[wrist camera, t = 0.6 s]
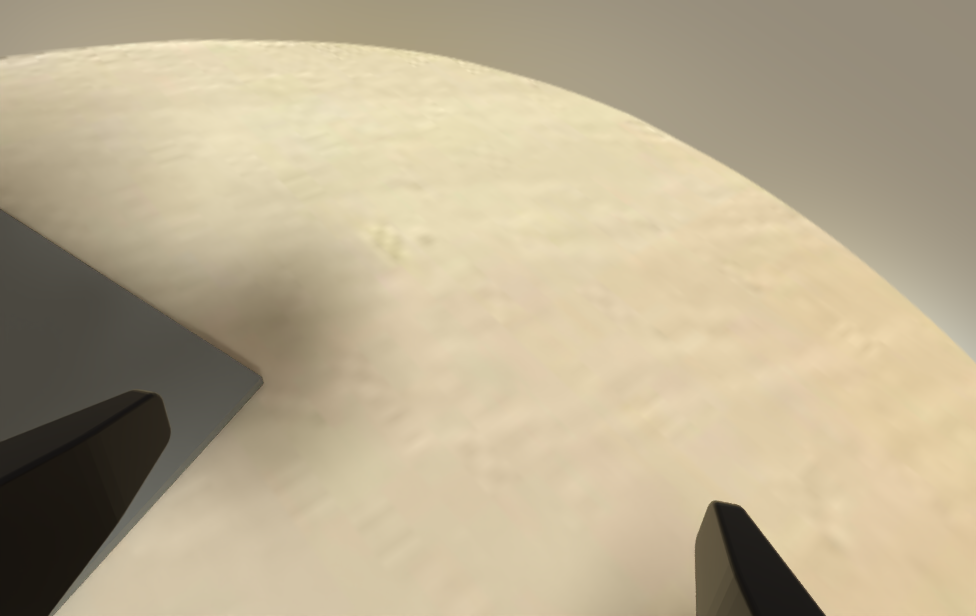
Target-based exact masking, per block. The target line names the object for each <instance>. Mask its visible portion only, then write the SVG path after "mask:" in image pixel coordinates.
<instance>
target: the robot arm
mask: <svg viewBox="0 0 976 616" xmlns="http://www.w3.org/2000/svg"><path fill="white" fill-rule="evenodd" d="M170 436H171V426H170V423H169V419H168V416H167V412H166V408H165V405H164V401H163V399H162V397H161V396H160V395H159V394H158V393H156V392H151V391H146V390H141V389H133V390H130V391H127V392H125V393H122V394H120V395H117V396H115V397H112V398H109V399H107V400H104V401H102V402H99V403H97V404H94V405H92V406H89V407H87V408H84V409H82V410H79V411H77V412H74V413H71V414H69V415H66V416H64V417H61V418H59V419H56V420H54V421H51V422H49V423H46V424H44V425H41V426H39V427H36V428H33V429H31V430H28V431H26V432H23V433H21V434H18V435H16V436H13V437H11V438H8V439H6V440H3V441H1V442H0V616H49V615H50V614H51V612H52V611H53V610H54V608H55V607H56V606H57V604H58V603H59V602H60V600H61V599H62V598H63V597H64V595H65V594H66V593H67V591H68V590H69V589H70V587H71V586H72V585H73V583H74V582H75V581H76V579H77V578H78V577H79V575H80V574H81V573H82V571H83V570H84V569H85V567H86V566H87V565H88V563H89V562H90V561H91V559H92V558H93V557H94V555H95V554H96V553H97V551H98V550H99V549H100V548H101V546H102V545H103V544H104V542H105V541H106V540H107V538H108V537H109V536H110V534H111V533H112V531H113V530H114V529H115V527H116V526H117V524H118V523H119V521H120V520H121V518H122V517H123V515H124V514H125V512H126V511H127V509H128V508H129V506H130V504H131V503H132V501H133V500H134V498H135V496H136V495H137V493H138V491H139V490H140V488H141V487H142V485H143V483H144V482H145V480H146V479H147V477H148V475H149V474H150V472H151V470H152V469H153V467H154V466H155V464H156V462H157V461H158V459H159V458H160V456H161V454H162V453H163V451H164V449H165V448H166V446H167V444H168V442H169V440H170ZM695 579H696V616H826V615H825V614H824V613H823V611H822V610H821V609H820V607H819V606H818V605H817V603H816V602H815V601H814V600H813V598H812V597H811V596H810V594H809V593H808V592H807V590H806V589H805V588H804V587H803V585H802V584H801V583H800V581H799V580H798V579H797V577H796V576H795V575H794V574H793V572H792V571H791V570H790V568H789V567H788V566H787V564H786V563H785V562H784V561H783V559H782V558H781V557H780V555H779V554H778V553H777V551H776V550H775V549H774V547H773V546H772V545H771V544H770V542H769V541H768V540H767V538H766V537H765V536H764V534H763V533H762V532H761V531H760V529H759V528H758V527H757V525H756V524H755V523H754V521H753V520H752V519H751V518H750V516H749V515H748V514H747V512H746V511H745V510H744V509H743V508H742V507H741V506H739V505H737V504H732V503H727V502H722V501H712V502H711V503H710V504H709V506H708V508H707V511H706V513H705V516H704V518H703V521H702V524H701V526H700V529H699V532H698V534H697V538H696V543H695Z"/></svg>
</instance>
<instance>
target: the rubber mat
mask: <svg viewBox="0 0 976 616" xmlns="http://www.w3.org/2000/svg"><path fill="white" fill-rule="evenodd" d="M262 384H263V380H262V377H261V376H260V375H258V374H256V373H255V372H253V371H252V370H250V369H249V368H247V367H246V366H244V365H242V364H241V363H239V362H238V361H236V360H235V359H233V358H231V357H230V356H228V355H227V354H225V353H224V352H222V351H221V350H219V349H217V348H216V347H214V346H213V345H211V344H210V343H208V342H207V341H205V340H203V339H202V338H200V337H199V336H197V335H196V334H194V333H192V332H191V331H189V330H188V329H186V328H185V327H183V326H182V325H180V324H178V323H177V322H175V321H174V320H172V319H171V318H169V317H168V316H166V315H164V314H163V313H161V312H160V311H158V310H157V309H155V308H153V307H152V306H150V305H149V304H147V303H146V302H144V301H143V300H141V299H139V298H138V297H136V296H135V295H133V294H132V293H130V292H129V291H127V290H125V289H124V288H122V287H121V286H119V285H118V284H116V283H114V282H113V281H111V280H110V279H108V278H107V277H105V276H104V275H102V274H100V273H99V272H97V271H96V270H94V269H93V268H91V267H90V266H88V265H86V264H85V263H83V262H82V261H80V260H79V259H77V258H75V257H74V256H72V255H71V254H69V253H68V252H66V251H65V250H63V249H61V248H60V247H58V246H57V245H55V244H54V243H52V242H51V241H49V240H47V239H46V238H44V237H43V236H41V235H40V234H38V233H37V232H35V231H33V230H32V229H30V228H29V227H27V226H26V225H24V224H22V223H21V222H19V221H18V220H16V219H15V218H13V217H12V216H10V215H8V214H7V213H5V212H4V211H2V210H1V209H0V442H1V441H3V440H6V439H8V438H11V437H13V436H16V435H18V434H21V433H23V432H26V431H28V430H31V429H33V428H36V427H39V426H41V425H44V424H46V423H49V422H51V421H54V420H56V419H59V418H61V417H64V416H66V415H69V414H71V413H74V412H77V411H79V410H82V409H84V408H87V407H89V406H92V405H94V404H97V403H99V402H102V401H104V400H107V399H109V398H112V397H115V396H117V395H120V394H122V393H125V392H127V391H130V390H133V389H141V390H146V391H151V392H156V393H158V394H159V395H160V396H161V397H162V399H163V401H164V405H165V408H166V412H167V416H168V419H169V423H170V426H171V436H170V440H169V442H168V444H167V446H166V448H165V449H164V451H163V453H162V454H161V456H160V458H159V459H158V461H157V462H156V464H155V466H154V467H153V469H152V470H151V472H150V474H149V475H148V477H147V479H146V480H145V482H144V483H143V485H142V487H141V488H140V490H139V491H138V493H137V495H136V496H135V498H134V500H133V501H132V503H131V504H130V506H129V508H128V509H127V511H126V512H125V514H124V515H123V517H122V518H121V520H120V521H119V523H118V524H117V526H116V527H115V529H114V530H113V531H112V533H111V534H110V536H109V537H108V538H107V540H106V541H105V542H104V544H103V545H102V546H101V548H100V549H99V550H98V551H97V553H96V554H95V555H94V557H93V558H92V559H91V561H90V562H89V563H88V565H87V566H86V567H85V569H84V570H83V571H82V573H81V574H80V575H79V577H78V578H77V579H76V581H75V582H74V583H73V585H72V586H71V587H70V589H69V590H68V591H67V593H66V594H65V595H64V597H63V598H62V599H61V600H60V602H59V603H58V604H57V606H56V607H55V608H54V610H53V611H52V612H51V614H50V615H49V616H53V615H54V614H55V613H56V612H57V611H58V610H59V609H60V607H61V606H62V605H63V604H64V603H65V602H66V601H67V600H68V599H69V597H70V596H71V595H72V594H73V593H74V592H75V591H76V590H77V589H78V588H79V586H80V585H81V584H82V583H83V582H84V581H85V580H86V579H87V578H88V577H89V575H90V574H91V573H92V572H93V571H94V570H95V569H96V568H97V567H98V565H99V564H100V563H101V562H102V561H103V560H104V559H105V558H106V557H107V556H108V554H109V553H110V552H111V551H112V550H113V549H114V548H115V547H116V546H117V544H118V543H119V542H120V541H121V540H122V539H123V538H124V537H125V536H126V535H127V533H128V532H129V531H130V530H131V529H132V528H133V527H134V526H135V525H136V524H137V522H138V521H139V520H140V519H141V518H142V517H143V516H144V515H145V514H146V512H147V511H148V510H149V509H150V508H151V507H152V506H153V505H154V504H155V503H156V501H157V500H158V499H159V498H160V497H161V496H162V495H163V494H164V493H165V491H166V490H167V489H168V488H169V487H170V486H171V485H172V484H173V483H174V482H175V480H176V479H177V478H178V477H179V476H180V475H181V474H182V473H183V472H184V471H185V469H186V468H187V467H188V466H189V465H190V464H191V463H192V462H193V461H194V459H195V458H196V457H197V456H198V455H199V454H200V453H201V452H202V451H203V450H204V448H205V447H206V446H207V445H208V444H209V443H210V442H211V441H212V440H213V439H214V437H215V436H216V435H217V434H218V433H219V432H220V431H221V430H222V429H223V427H224V426H225V425H226V424H227V423H228V422H229V421H230V420H231V419H232V418H233V416H234V415H235V414H236V413H237V412H238V411H239V410H240V409H241V408H242V406H243V405H244V404H245V403H246V402H247V401H248V400H249V399H250V398H251V397H252V395H253V394H254V393H255V392H256V391H257V390H258V389H259V388H260V387H261V386H262Z"/></svg>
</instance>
